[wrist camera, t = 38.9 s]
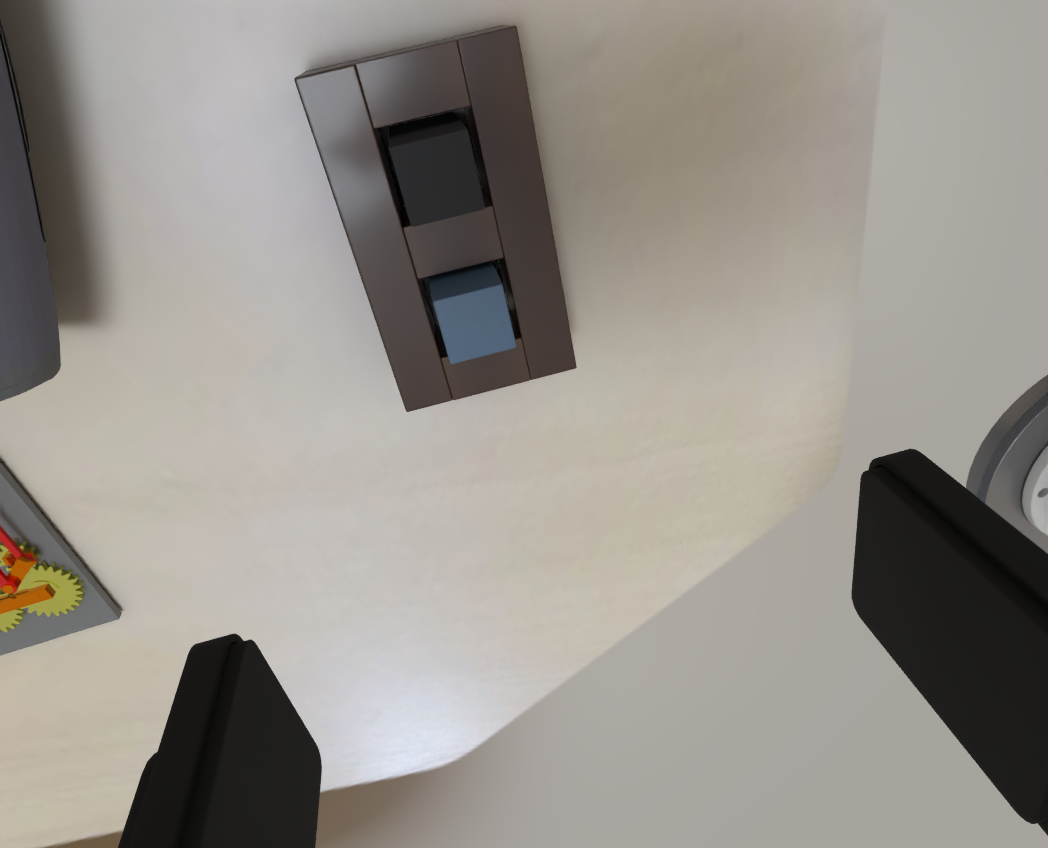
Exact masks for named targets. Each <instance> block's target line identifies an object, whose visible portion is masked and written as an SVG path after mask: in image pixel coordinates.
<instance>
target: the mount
mask: <svg viewBox="0 0 1048 848" xmlns="http://www.w3.org/2000/svg"><path fill="white" fill-rule="evenodd" d="M295 83H296V86H297V89H298V92H299V95H300V98H301V101H302V104H303V107H304V110H305V113H306V116H307V119H308V122H309V125H310V128H311V131H312V134H313V137H314V140H315V143H316V146H317V148H318V151H319V154H320V157H321V160H322V163H323V166H324V169H325V172H326V175H327V178H328V181H329V184H330V187H331V190H332V193H333V196H334V199H335V202H336V205H337V208H338V211H339V214H340V217H341V220H342V223H343V226H344V229H345V231H346V234H347V237H348V240H349V243H350V246H351V249H352V252H353V255H354V258H355V261H356V264H357V267H358V270H359V273H360V276H361V279H362V282H363V285H364V288H365V291H366V294H367V297H368V300H369V303H370V306H371V309H372V312H373V314H374V317H375V320H376V323H377V326H378V329H379V332H380V335H381V338H382V341H383V344H384V347H385V350H386V353H387V356H388V359H389V362H390V365H391V368H392V371H393V374H394V377H395V380H396V383H397V386H398V389H399V392H400V395H401V397H402V400H403V403H404V406H405V409H406V411H407V412H409V411H413V410H417V409H421V408H425V407H428V406H432V405H436V404H440V403H444V402H448V401H451V400H452V399H453V400H456V399H460V398H464V397H468V396H472V395H476V394H479V393H483V392H487V391H491V390H495V389H499V388H502V387H506V386H510V385H514V384H518V383H522V382H525V381H529V380H533V379H537V378H540V377H544V376H548V375H552V374H556V373H560V372H563V371H567V370H571V369H575V368H576V361H575V356H574V350H573V344H572V339H571V333H570V327H569V322H568V316H567V310H566V304H565V299H564V293H563V287H562V282H561V276H560V270H559V265H558V259H557V253H556V248H555V242H554V236H553V231H552V225H551V219H550V213H549V208H548V202H547V196H546V191H545V185H544V179H543V174H542V168H541V162H540V157H539V151H538V145H537V140H536V134H535V128H534V123H533V117H532V111H531V105H530V100H529V94H528V88H527V83H526V77H525V71H524V66H523V60H522V54H521V49H520V43H519V37H518V32H517V27H516V26H498V27H493V28H489V29H485V30H481V31H476V32H472V33H468V34H463V35H459V36H455V37H451V38H446V39H442V40H438V41H434V42H429V43H425V44H421V45H417V46H412V47H408V48H404V49H400V50H395V51H391V52H387V53H383V54H378V55H374V56H370V57H366V58H361V59H359V60H353V61H349V62H345V63H340V64H336V65H332V66H328V67H323V68H319V69H315V70H310V71H306V72H304V73H302V74H301V75H299V76H297V77H296V78H295ZM460 108H465V112H466V117H467V121H468V125H469V130H470V134H471V139H472V143H473V148H474V152H475V157H476V161H477V166H478V170H479V175H480V179H481V184H482V188H483V189H482V188H481V191H482V195H483V200H484V204H485V209H484V210H480V211H475V212H471V213H467V214H463V215H459V216H455V217H451V218H447V219H443V220H439V221H435V222H431V223H427V224H423V225H419V226H415V227H411V225H410V221H409V218H408V214H407V211H406V207H402V208H401V206H400V203H399V199H398V196H397V192H396V189H395V186H394V182H393V179H392V175H391V172H390V168H389V165H388V161H387V158H386V154H385V151H384V147H383V144H382V140H381V137H380V134H379V130H378V128H381V127H385V126H389V125H394V124H398V123H402V122H406V121H410V120H414V119H419V118H423V117H427V116H431V115H435V114H439V113H444V112H448V111H452V110H456V109H460ZM497 259H498V260H499V264H500V269H501V273H502V278H503V282H504V287H505V291H506V296H507V300H508V305H509V309H510V310H508V311H509V315H510V320H511V324H512V329H513V333H514V337H515V342H516V348H513V349H509V350H505V351H501V352H497V353H493V354H490V355H486V356H482V357H478V358H474V359H470V360H466V361H463V362H459V363H455V364H450V361H449V358H448V354H447V351H446V347H445V344H444V340H443V337H442V333H441V330H440V328H438V329H436V327H435V324H434V321H433V317H432V314H431V310H430V307H429V303H428V300H427V296H426V293H425V289H424V286H423V282H422V278H425V277H429V276H433V275H437V274H441V273H445V272H449V271H453V270H457V269H461V268H465V267H469V266H473V265H477V264H481V263H485V262H489V261H493V260H497Z"/></svg>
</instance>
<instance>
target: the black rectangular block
mask: <svg viewBox="0 0 1048 848" xmlns="http://www.w3.org/2000/svg"><path fill="white" fill-rule="evenodd" d="M389 151H390V155H391V158H392V162H393V165H394V169H395V172H396V176H397V179H398V183H399V186H400V190H401V193H402V197H403V200H404V204H405V207H406V211H407V214H408V218H409V221H410V225H411V227H415V226H419V225H423V224H427V223H431V222H435V221H439V220H443V219H447V218H451V217H455V216H459V215H463V214H467V213H471V212H475V211H480V210H484V209H485V204H484V200H483V195H482V191H481V186H480V182H479V177H478V173H477V168H476V164H475V159H474V155H473V150H472V146H471V142H470V137H469V133H468V129H467V128H466V127H465V125H464V124H463V123H462V122H461V120H460V119H459V118H458V117H457V115H456V114H455V113H454V112H448V113H444V114H440V115H436V116H432V117H427V118H423V119H419V120H415V121H411V122H407V123H402V124H398V125H394V126H390V127H389Z"/></svg>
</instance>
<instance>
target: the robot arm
mask: <svg viewBox="0 0 1048 848" xmlns="http://www.w3.org/2000/svg"><path fill="white" fill-rule="evenodd" d="M1022 505H1023V510H1024V514H1025V516H1026V518H1027V519H1028V521H1029V522H1030V523H1031V524H1032V525H1033V526H1035V527H1036V528H1037V529H1038V530H1039V531H1041V532H1042V533H1044V534H1046V535H1047V536H1048V445H1047V446H1046V448H1045V449H1044V450H1043V451H1042V452H1041V454H1040V455H1039V457H1038V458H1037V460H1036V461H1035V463H1034V464H1033V466H1032V468H1031V470H1030V472H1029V474H1028V476H1027V479H1026V482H1025V486H1024V489H1023V498H1022ZM852 600H853V604H854V607H855V609H856V611H857V613H858V615H859V617H860V618H861V619H862V621H863V622H864V623H865V624H866V626H867V627H868V628H869V629H870V631H871V632H872V633H873V634H874V636H875V637H876V638H877V639H878V640H879V642H880V643H881V644H882V646H883V647H884V648H885V649H886V650H887V652H888V653H889V654H890V656H891V657H892V658H893V659H894V661H895V662H896V663H897V664H898V666H899V667H900V668H901V669H902V671H903V672H904V673H905V674H906V675H907V677H908V678H909V679H910V681H911V682H912V683H913V684H914V686H915V687H916V688H917V689H918V690H919V692H920V693H921V694H922V695H923V697H924V698H925V699H926V700H927V702H928V703H929V704H930V705H931V707H932V708H933V709H934V710H935V712H936V713H937V714H938V715H939V717H940V718H941V719H942V720H943V722H944V723H945V724H946V725H947V727H948V728H949V729H950V730H951V732H952V733H953V734H954V735H955V737H956V738H957V739H958V740H959V742H960V743H961V744H962V745H963V747H964V748H965V749H966V750H967V751H968V753H969V754H970V755H971V757H972V758H973V759H974V760H975V761H976V763H977V764H978V765H979V767H980V768H981V769H982V770H983V772H984V773H985V774H986V775H987V776H988V778H989V779H990V780H991V782H992V783H993V784H994V785H995V787H996V788H997V789H998V790H999V792H1000V793H1001V794H1002V795H1003V796H1004V798H1005V799H1006V800H1007V801H1008V803H1009V804H1010V805H1011V807H1012V808H1013V809H1014V810H1015V811H1016V812H1017V813H1018V815H1019V816H1021V817H1022V818H1023V819H1024V820H1025V821H1027V822H1029V823H1031V824H1036V823H1038V824H1039V825H1040V827H1041V828H1042V829H1043V830H1044V831H1045V833H1046V834H1047V835H1048V553H1046V552H1045V551H1044V550H1043V549H1041V548H1040V547H1039V546H1038V545H1036V544H1035V543H1034V542H1033V541H1031V540H1030V539H1029V538H1028V537H1026V536H1025V535H1024V534H1023V533H1021V532H1020V531H1019V530H1018V529H1016V528H1015V527H1014V526H1013V525H1011V524H1010V523H1009V522H1007V521H1006V520H1005V519H1004V518H1002V517H1001V516H1000V515H999V514H997V513H996V512H995V511H994V510H992V509H991V508H990V507H989V506H987V505H986V504H985V503H984V502H982V501H981V500H980V499H979V498H977V497H976V496H975V495H974V494H972V493H971V492H970V491H969V490H967V489H966V488H965V487H964V486H962V485H961V484H960V483H959V482H957V481H956V480H955V479H954V478H952V477H951V476H950V475H949V474H947V473H946V472H945V471H943V470H942V469H941V468H940V467H938V466H937V465H936V464H935V463H933V462H932V461H931V460H930V459H928V458H927V457H926V456H925V455H923V454H922V453H920V452H919V451H917V450H915V449H908V450H904V451H900V452H897V453H893V454H890V455H886V456H883V457H878V458H876V459H873V460H872V462H871V463H870V466H869V470H868V471H865V472H863V474H862V476H861V482H860V496H859V507H858V519H857V532H856V545H855V558H854V570H853V583H852ZM321 772H322V765H321V757H320V753H319V749H318V747H317V745H316V743H315V741H314V740H313V738H312V736H311V735H310V733H309V731H308V730H307V728H306V726H305V725H304V723H303V721H302V720H301V718H300V716H299V715H298V713H297V711H296V710H295V708H294V706H293V705H292V703H291V701H290V700H289V698H288V696H287V695H286V693H285V691H284V690H283V688H282V686H281V685H280V683H279V681H278V680H277V678H276V676H275V675H274V673H273V671H272V670H271V668H270V666H269V665H268V663H267V661H266V660H265V658H264V656H263V655H262V653H261V651H260V650H259V648H258V646H257V645H256V643H255V642H254V641H252V640H247V641H243V640H242V638H241V637H240V636H239V635H237V634H231V635H227V636H223V637H220V638H216V639H212V640H209V641H205V642H201V643H198V644H195V645H194V646H193V647H192V648H191V649H190V651H189V654H188V656H187V660H186V663H185V666H184V669H183V672H182V676H181V679H180V682H179V685H178V688H177V692H176V695H175V698H174V701H173V704H172V707H171V711H170V714H169V717H168V720H167V723H166V727H165V730H164V733H163V736H162V739H161V743H160V746H159V749H158V752H157V753H155V754H154V755H153V756H152V757H151V758H150V759H149V760H148V762H147V764H146V766H145V768H144V770H143V773H142V775H141V778H140V781H139V785H138V788H137V791H136V794H135V797H134V800H133V803H132V806H131V809H130V812H129V815H128V818H127V821H126V824H125V828H124V831H123V834H122V837H121V840H120V843H119V847H118V848H315V843H316V830H317V819H318V808H319V795H320V784H321Z"/></svg>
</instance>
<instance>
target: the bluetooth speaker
mask: <svg viewBox="0 0 1048 848" xmlns="http://www.w3.org/2000/svg"><path fill="white" fill-rule="evenodd" d="M45 242H46V240H45V235H44V229H43V223H42V218H41V213H40V208H39V203H38V198H37V193H36V188H35V183H34V178H33V173H32V168H31V163H30V157H29V144H28V136H27V131H26V126H25V120H24V115H23V110H22V105H21V100H20V96H19V91H18V87H17V82H16V77H15V73H14V68H13V64H12V61H11V57H10V53H9V49H8V46H7V42H6V38H5V34H4V31H3V28H2V25H1V21H0V401H2V400H5V399H8V398H11V397H13V396H16V395H19V394H21V393H23V392H26V391H28V390H30V389H32V388H34V387H36V386H38V385H40V384H41V383H43V382H45V381H48V380H50V379H52V378H53V377H54V376H55V375H56V374H57V373H58V372H59V369H60V366H61V362H60V342H59V330H58V321H57V312H56V305H55V299H54V294H53V288H52V282H51V276H50V270H49V264H48V259H47V253H46V247H45Z"/></svg>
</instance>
